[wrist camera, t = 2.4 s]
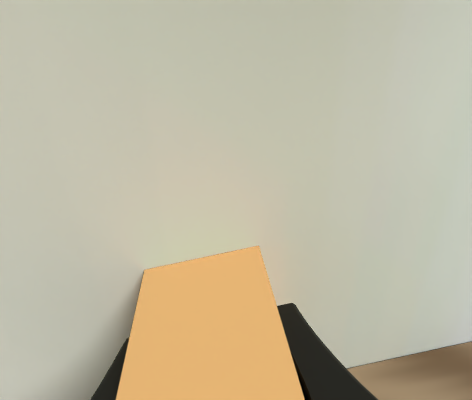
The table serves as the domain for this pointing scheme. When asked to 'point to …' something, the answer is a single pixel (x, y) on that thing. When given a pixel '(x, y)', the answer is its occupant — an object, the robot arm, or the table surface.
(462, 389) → the walled box
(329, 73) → the table surface
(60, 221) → the table surface
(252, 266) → the block
